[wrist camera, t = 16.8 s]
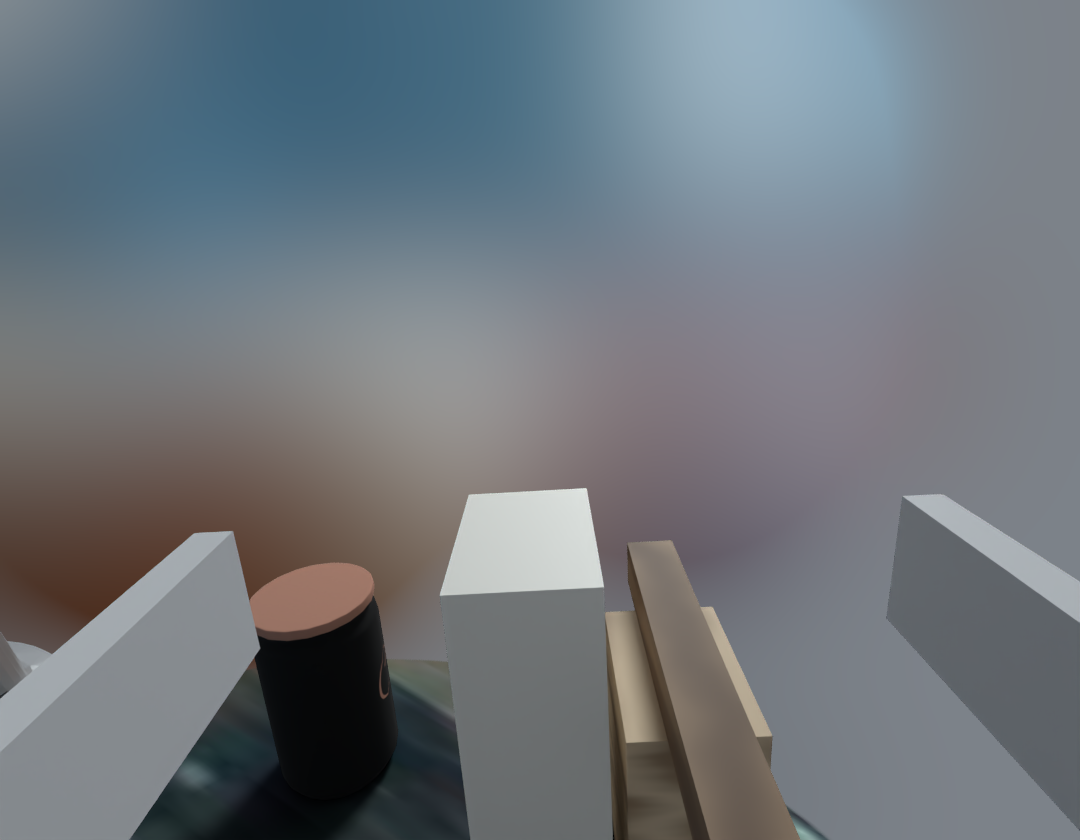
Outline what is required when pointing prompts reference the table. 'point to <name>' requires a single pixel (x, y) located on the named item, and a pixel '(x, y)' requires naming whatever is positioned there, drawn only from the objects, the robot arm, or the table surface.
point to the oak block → (653, 734)
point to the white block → (530, 667)
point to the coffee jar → (325, 678)
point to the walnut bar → (702, 708)
